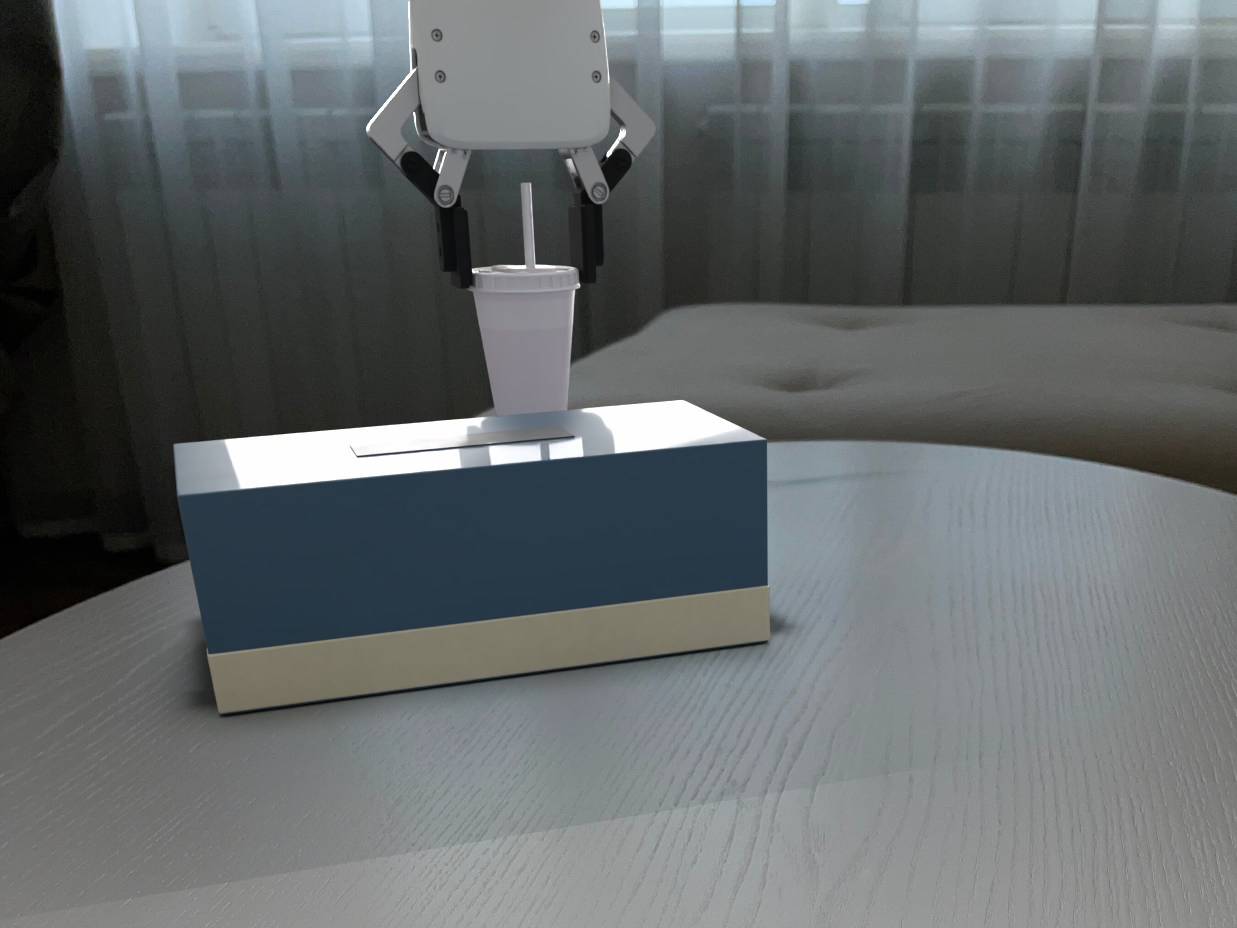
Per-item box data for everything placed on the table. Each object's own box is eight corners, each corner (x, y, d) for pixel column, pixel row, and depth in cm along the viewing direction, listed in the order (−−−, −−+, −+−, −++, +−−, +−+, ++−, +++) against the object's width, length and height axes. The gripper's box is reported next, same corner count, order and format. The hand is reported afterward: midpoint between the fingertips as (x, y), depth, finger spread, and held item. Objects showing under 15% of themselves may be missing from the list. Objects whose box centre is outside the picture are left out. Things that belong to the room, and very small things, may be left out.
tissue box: (219, 717, 57) (175, 494, 52) (209, 636, 66) (171, 442, 62) (770, 642, 63) (769, 437, 58) (690, 578, 72) (684, 398, 68)
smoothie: (542, 462, 82) (526, 184, 75) (456, 451, 85) (434, 183, 78) (608, 443, 86) (599, 181, 80) (525, 434, 90) (509, 180, 83)
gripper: (643, -88, 78) (651, 273, 87) (318, -99, 74) (360, 284, 82) (686, -109, 72) (690, 283, 81) (333, -122, 67) (377, 296, 76)
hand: (523, 280), depth 81 cm, fingers closed on smoothie, 6 cm apart
